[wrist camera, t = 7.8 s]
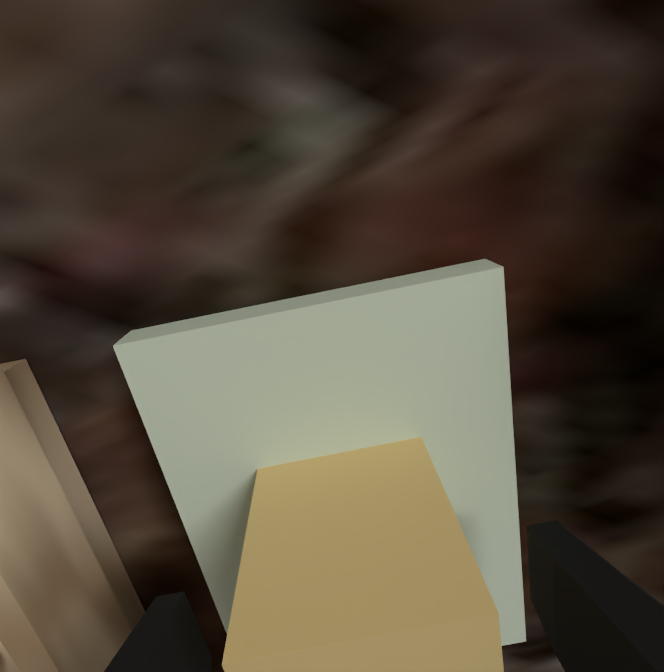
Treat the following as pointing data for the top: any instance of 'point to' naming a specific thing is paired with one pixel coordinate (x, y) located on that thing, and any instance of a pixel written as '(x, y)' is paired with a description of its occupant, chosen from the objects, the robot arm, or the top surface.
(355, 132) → the top surface
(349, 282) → the top surface
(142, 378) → the lid
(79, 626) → the box
